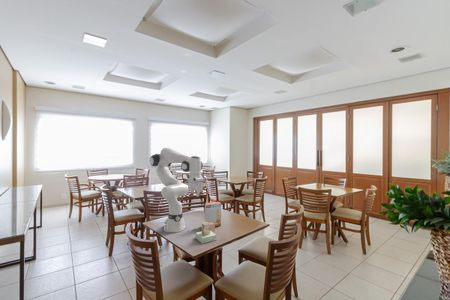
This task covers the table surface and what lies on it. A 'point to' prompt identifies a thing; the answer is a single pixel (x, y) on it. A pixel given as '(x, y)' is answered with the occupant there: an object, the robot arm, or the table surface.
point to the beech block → (205, 228)
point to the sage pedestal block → (206, 237)
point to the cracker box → (213, 213)
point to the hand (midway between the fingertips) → (194, 195)
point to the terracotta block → (212, 226)
